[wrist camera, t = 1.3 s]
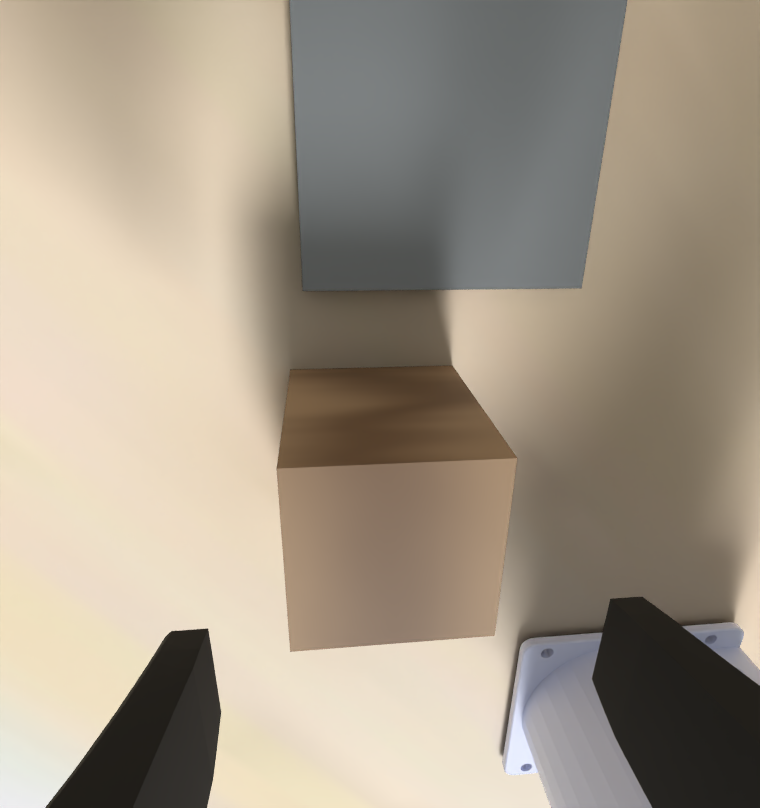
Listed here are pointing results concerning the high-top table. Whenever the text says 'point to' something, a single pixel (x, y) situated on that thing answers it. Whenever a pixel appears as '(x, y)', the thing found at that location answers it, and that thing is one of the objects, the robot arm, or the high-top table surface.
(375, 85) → the slate coaster
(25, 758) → the high-top table surface
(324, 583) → the walnut block
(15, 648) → the high-top table surface
